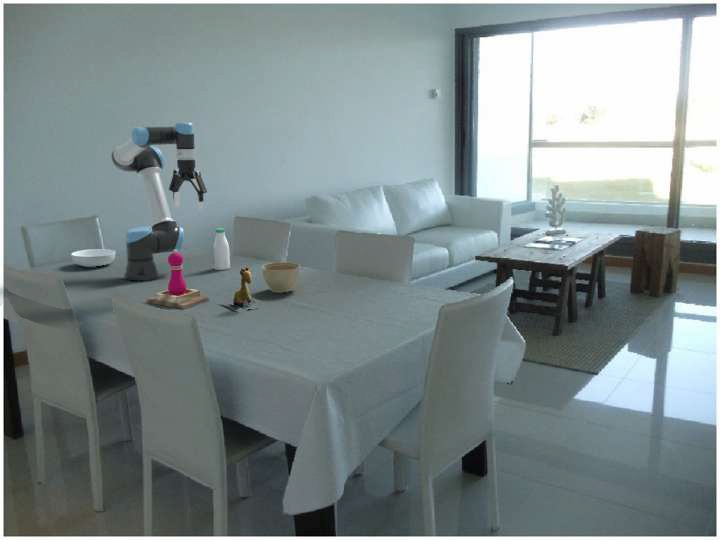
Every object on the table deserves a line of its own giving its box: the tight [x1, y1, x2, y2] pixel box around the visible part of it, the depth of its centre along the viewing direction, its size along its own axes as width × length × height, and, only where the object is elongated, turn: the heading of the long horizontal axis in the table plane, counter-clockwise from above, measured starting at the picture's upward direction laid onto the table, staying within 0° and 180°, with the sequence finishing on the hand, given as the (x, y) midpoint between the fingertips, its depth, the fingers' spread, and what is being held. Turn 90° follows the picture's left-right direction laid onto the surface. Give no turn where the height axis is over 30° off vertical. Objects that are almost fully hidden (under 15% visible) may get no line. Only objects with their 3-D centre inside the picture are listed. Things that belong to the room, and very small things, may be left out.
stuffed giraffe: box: [219, 266, 256, 312], centre depth 268 cm, size 16×18×16 cm
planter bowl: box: [261, 261, 301, 294], centre depth 290 cm, size 16×16×11 cm
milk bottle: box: [212, 227, 231, 271], centre depth 333 cm, size 8×8×20 cm
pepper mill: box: [167, 249, 188, 296], centre depth 271 cm, size 7×7×20 cm
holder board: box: [146, 288, 210, 310], centre depth 273 cm, size 20×14×4 cm
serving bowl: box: [70, 248, 116, 268], centre depth 342 cm, size 21×21×7 cm
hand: (188, 208), depth 297 cm, fingers open, 13 cm apart
